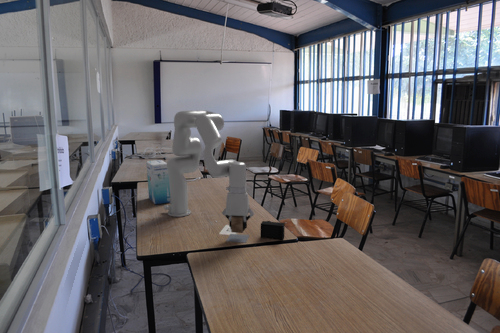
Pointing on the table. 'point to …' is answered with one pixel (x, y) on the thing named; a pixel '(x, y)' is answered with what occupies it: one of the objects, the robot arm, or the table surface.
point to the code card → (227, 230)
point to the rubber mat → (237, 238)
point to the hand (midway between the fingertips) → (238, 228)
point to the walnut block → (237, 224)
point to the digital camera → (272, 230)
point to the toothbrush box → (158, 182)
